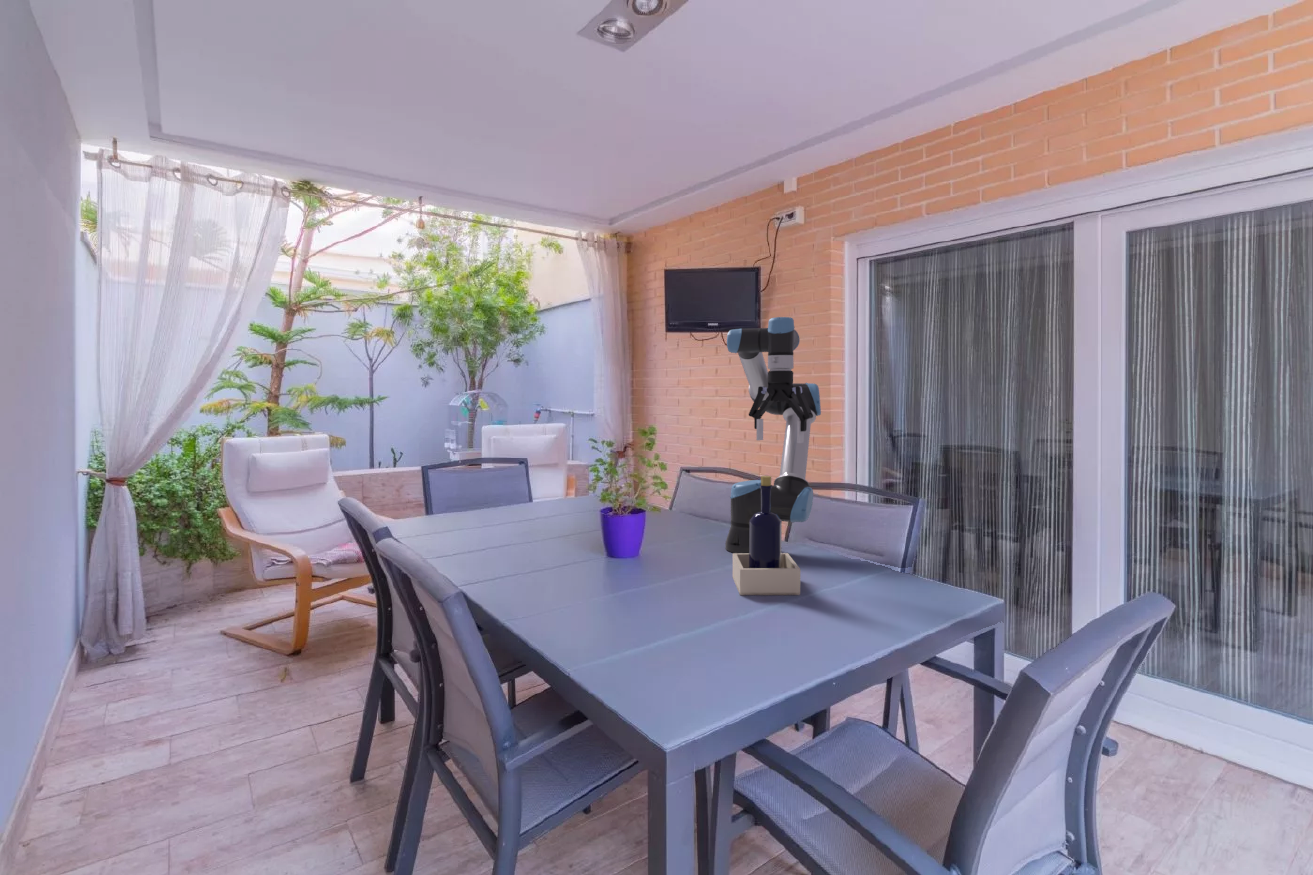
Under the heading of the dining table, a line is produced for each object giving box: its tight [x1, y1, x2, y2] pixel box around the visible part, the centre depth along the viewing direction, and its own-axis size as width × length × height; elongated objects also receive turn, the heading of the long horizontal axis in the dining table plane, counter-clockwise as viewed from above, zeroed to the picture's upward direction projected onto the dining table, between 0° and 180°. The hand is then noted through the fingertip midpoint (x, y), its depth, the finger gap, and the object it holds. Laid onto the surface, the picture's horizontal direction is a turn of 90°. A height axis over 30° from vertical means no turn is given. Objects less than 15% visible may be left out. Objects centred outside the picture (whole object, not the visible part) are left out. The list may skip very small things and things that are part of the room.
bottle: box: [749, 475, 783, 568], centre depth 174 cm, size 9×9×30 cm
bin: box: [732, 552, 802, 596], centre depth 175 cm, size 16×16×7 cm
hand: (779, 441), depth 189 cm, fingers open, 13 cm apart
